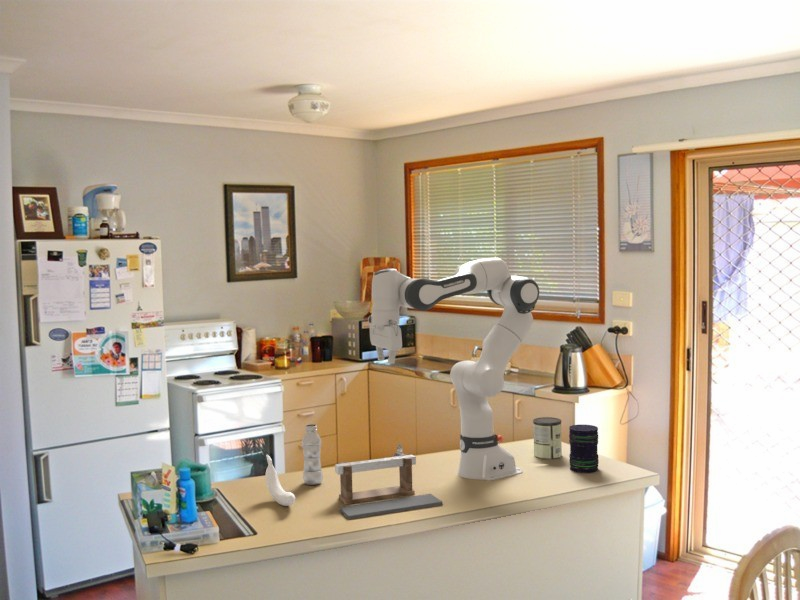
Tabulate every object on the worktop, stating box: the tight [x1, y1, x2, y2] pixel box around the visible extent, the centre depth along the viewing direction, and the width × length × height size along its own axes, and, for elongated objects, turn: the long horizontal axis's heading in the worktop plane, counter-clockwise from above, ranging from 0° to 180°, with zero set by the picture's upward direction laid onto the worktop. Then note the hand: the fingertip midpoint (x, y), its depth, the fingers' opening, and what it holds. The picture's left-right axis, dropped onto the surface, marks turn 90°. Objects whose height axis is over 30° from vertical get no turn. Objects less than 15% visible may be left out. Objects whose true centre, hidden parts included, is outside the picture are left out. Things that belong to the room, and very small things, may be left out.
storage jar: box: [568, 424, 599, 474], centre depth 275 cm, size 10×10×15 cm
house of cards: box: [393, 443, 405, 457], centre depth 290 cm, size 9×9×8 cm
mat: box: [338, 493, 444, 520], centre depth 239 cm, size 30×9×1 cm, turn 112°
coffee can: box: [532, 416, 563, 461], centre depth 292 cm, size 10×10×14 cm
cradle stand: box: [338, 453, 416, 505], centre depth 251 cm, size 23×7×12 cm, turn 112°
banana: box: [265, 454, 296, 507], centre depth 244 cm, size 5×19×15 cm, turn 35°
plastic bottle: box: [301, 423, 324, 486], centre depth 265 cm, size 6×7×20 cm
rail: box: [334, 454, 417, 475], centre depth 250 cm, size 26×3×2 cm, turn 112°
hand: (386, 361), depth 256 cm, fingers open, 8 cm apart
